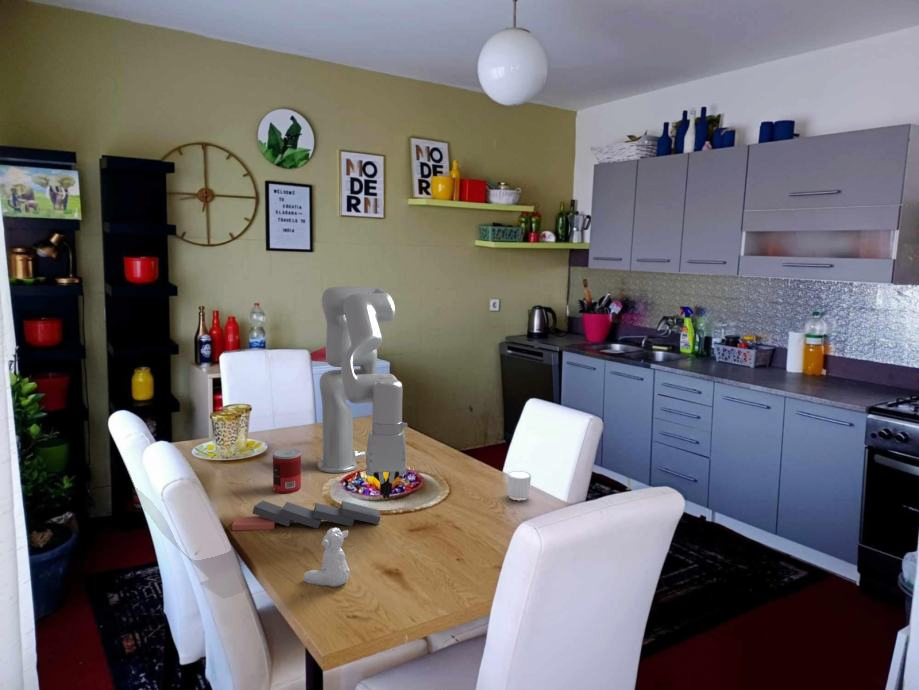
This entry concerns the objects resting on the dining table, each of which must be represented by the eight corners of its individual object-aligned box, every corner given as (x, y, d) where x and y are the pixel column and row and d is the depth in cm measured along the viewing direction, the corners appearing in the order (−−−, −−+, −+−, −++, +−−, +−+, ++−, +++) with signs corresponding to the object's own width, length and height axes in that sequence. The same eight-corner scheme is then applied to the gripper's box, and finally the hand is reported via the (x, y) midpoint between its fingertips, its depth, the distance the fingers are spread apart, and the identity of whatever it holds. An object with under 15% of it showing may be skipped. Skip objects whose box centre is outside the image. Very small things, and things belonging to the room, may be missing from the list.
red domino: (276, 515, 172) (236, 516, 171) (273, 523, 167) (232, 524, 166) (276, 523, 172) (236, 524, 171) (273, 531, 168) (232, 532, 166)
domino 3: (353, 511, 175) (315, 503, 173) (354, 519, 170) (315, 510, 168) (351, 518, 175) (313, 510, 173) (352, 526, 170) (313, 517, 168)
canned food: (306, 486, 197) (306, 450, 195) (290, 495, 190) (290, 458, 188) (283, 482, 200) (283, 447, 198) (267, 491, 192) (267, 454, 190)
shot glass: (533, 495, 195) (534, 472, 194) (525, 503, 189) (526, 479, 188) (511, 491, 198) (512, 468, 197) (503, 499, 192) (504, 475, 191)
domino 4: (379, 509, 177) (342, 500, 174) (380, 517, 172) (342, 508, 170) (376, 516, 177) (340, 507, 175) (378, 524, 172) (340, 515, 170)
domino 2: (323, 514, 173) (286, 501, 172) (320, 521, 168) (282, 508, 167) (321, 521, 173) (284, 508, 172) (317, 528, 168) (279, 516, 168)
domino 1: (298, 513, 173) (263, 500, 174) (290, 519, 168) (254, 506, 169) (296, 520, 173) (261, 507, 174) (288, 526, 168) (252, 513, 169)
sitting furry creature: (336, 565, 150) (336, 514, 148) (363, 578, 144) (363, 525, 142) (302, 581, 142) (301, 527, 140) (328, 595, 137) (328, 540, 135)
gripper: (414, 423, 176) (412, 490, 179) (356, 424, 173) (356, 492, 176) (418, 431, 169) (416, 500, 171) (358, 432, 166) (357, 503, 168)
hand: (385, 496), depth 174 cm, fingers closed
